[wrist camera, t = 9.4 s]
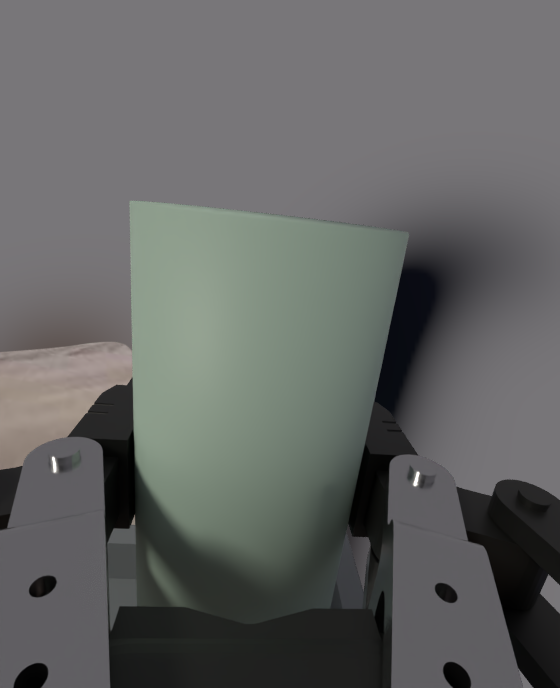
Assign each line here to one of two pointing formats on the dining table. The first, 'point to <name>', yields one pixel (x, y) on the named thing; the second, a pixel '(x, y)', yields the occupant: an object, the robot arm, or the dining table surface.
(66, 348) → the dining table surface
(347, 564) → the tray
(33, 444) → the dining table surface
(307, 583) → the pale green cylinder
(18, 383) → the dining table surface
